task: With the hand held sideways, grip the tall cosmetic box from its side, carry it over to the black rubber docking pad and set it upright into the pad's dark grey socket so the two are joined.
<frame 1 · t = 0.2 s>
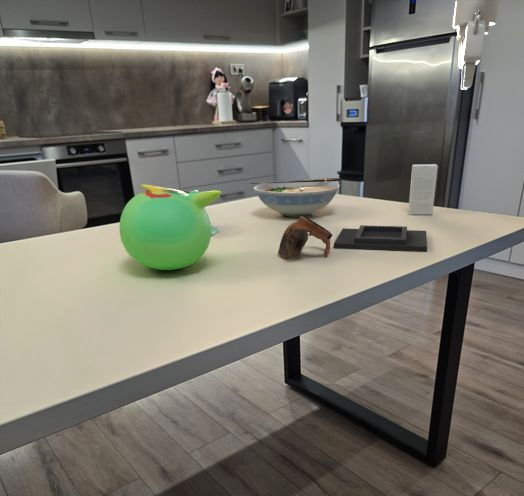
hand: (465, 88, 111), 29 cm above the table, tool pointing down, fingers open, 8 cm apart
dock pad: (381, 241, 101), on the table
cosmetic box: (419, 214, 126), on the table
chocolate cake: (176, 233, 115), on the table
ramen bowl: (296, 215, 130), on the table
toy bird: (173, 267, 89), on the table
brown arched part: (302, 257, 92), on the table
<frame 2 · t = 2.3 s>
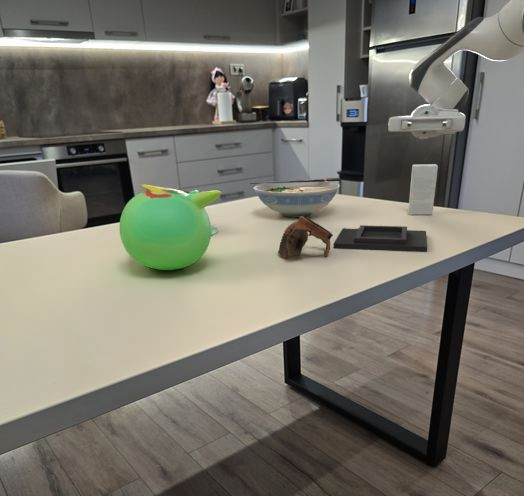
hand: (426, 125, 128), 21 cm above the table, tool horizontal, fingers open, 8 cm apart
nothing on the table moved.
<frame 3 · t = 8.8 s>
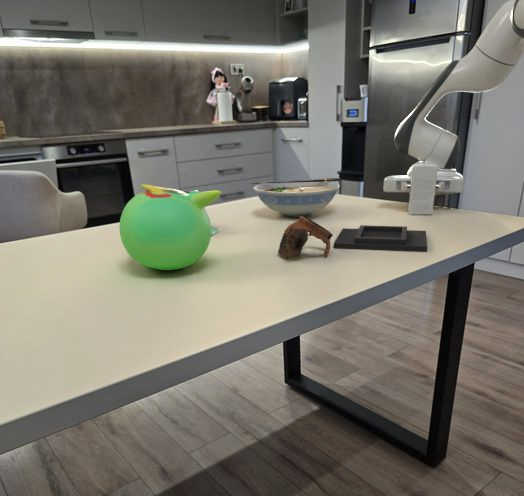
hand: (422, 188, 122), 6 cm above the table, tool horizontal, fingers closed on cosmetic box, 6 cm apart
cosmetic box: (419, 214, 126), on the table, touching gripper
everything else where it was.
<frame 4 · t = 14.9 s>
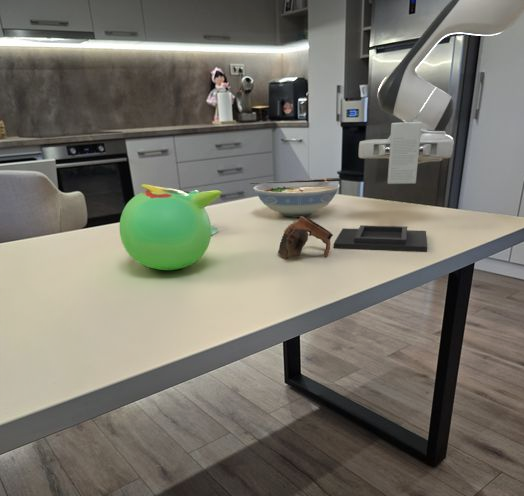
hand: (404, 151, 101), 17 cm above the table, tool horizontal, fingers closed on cosmetic box, 6 cm apart
cosmetic box: (400, 183, 105), point 10 cm above the table, touching gripper
everything else where it was.
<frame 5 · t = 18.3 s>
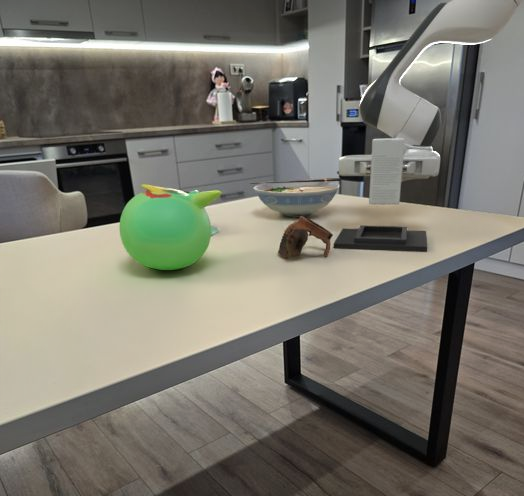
hand: (386, 169, 94), 14 cm above the table, tool horizontal, fingers closed on cosmetic box, 6 cm apart
cosmetic box: (383, 204, 97), point 8 cm above the table, touching gripper
everything else where it was.
when the fingers open (7 cm above the table, at t = 21.2 s): cosmetic box stays where it is, resting on dock pad.
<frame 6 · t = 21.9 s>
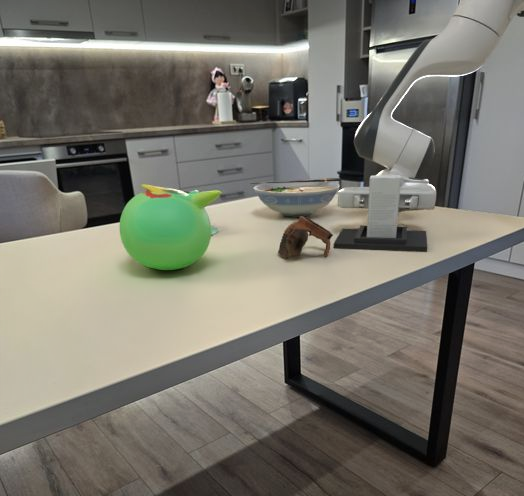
hand: (384, 204, 96), 8 cm above the table, tool horizontal, fingers open, 8 cm apart
cosmetic box: (380, 237, 100), point 1 cm above the table, touching dock pad
everything else where it was.
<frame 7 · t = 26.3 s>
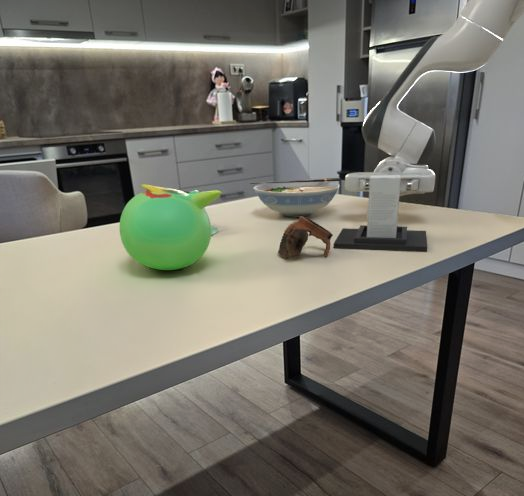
hand: (387, 186, 106), 10 cm above the table, tool horizontal, fingers open, 8 cm apart
nothing on the table moved.
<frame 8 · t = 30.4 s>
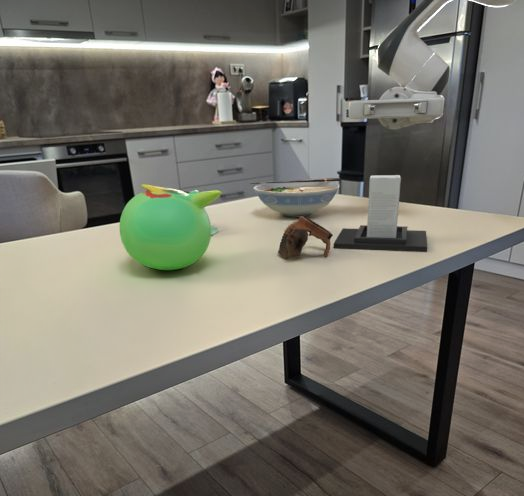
hand: (394, 108, 100), 25 cm above the table, tool horizontal, fingers open, 8 cm apart
nothing on the table moved.
at the end: cosmetic box 0.1 cm off-centre on the dock pad, point 0.8 cm above the dock pad's base; cosmetic box tilted 0°; the gripper is holding nothing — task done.
